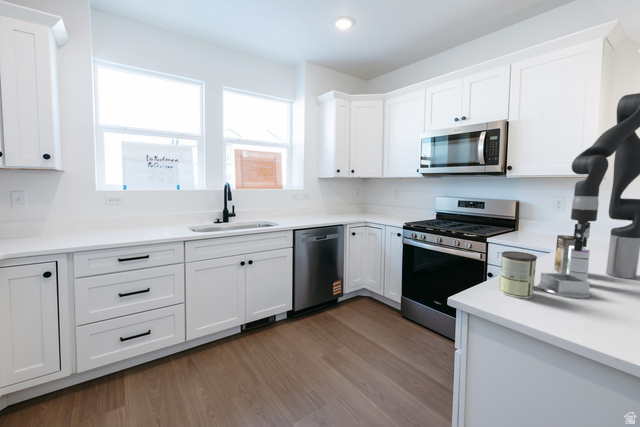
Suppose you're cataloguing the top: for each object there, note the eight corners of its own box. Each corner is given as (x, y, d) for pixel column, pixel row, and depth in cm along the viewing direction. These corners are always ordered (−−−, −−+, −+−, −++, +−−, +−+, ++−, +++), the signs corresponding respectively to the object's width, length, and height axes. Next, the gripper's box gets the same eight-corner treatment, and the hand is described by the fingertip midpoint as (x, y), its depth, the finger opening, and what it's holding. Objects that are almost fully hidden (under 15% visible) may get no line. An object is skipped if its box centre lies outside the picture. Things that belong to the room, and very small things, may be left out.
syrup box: (587, 286, 115) (591, 249, 113) (567, 283, 118) (571, 247, 116) (583, 282, 119) (587, 246, 118) (564, 279, 123) (568, 244, 121)
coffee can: (495, 286, 113) (498, 250, 112) (527, 290, 110) (531, 252, 108) (502, 296, 103) (505, 256, 102) (537, 300, 100) (541, 259, 99)
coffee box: (553, 269, 138) (556, 234, 136) (570, 270, 136) (574, 235, 134) (561, 274, 130) (564, 238, 128) (579, 276, 127) (583, 239, 126)
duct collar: (529, 282, 118) (530, 270, 117) (569, 284, 117) (571, 272, 116) (555, 297, 103) (556, 283, 103) (602, 299, 102) (604, 285, 101)
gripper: (575, 206, 123) (571, 245, 124) (568, 207, 114) (563, 250, 115) (600, 208, 117) (596, 249, 119) (594, 209, 108) (589, 253, 109)
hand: (580, 249), depth 117 cm, fingers open, 8 cm apart
